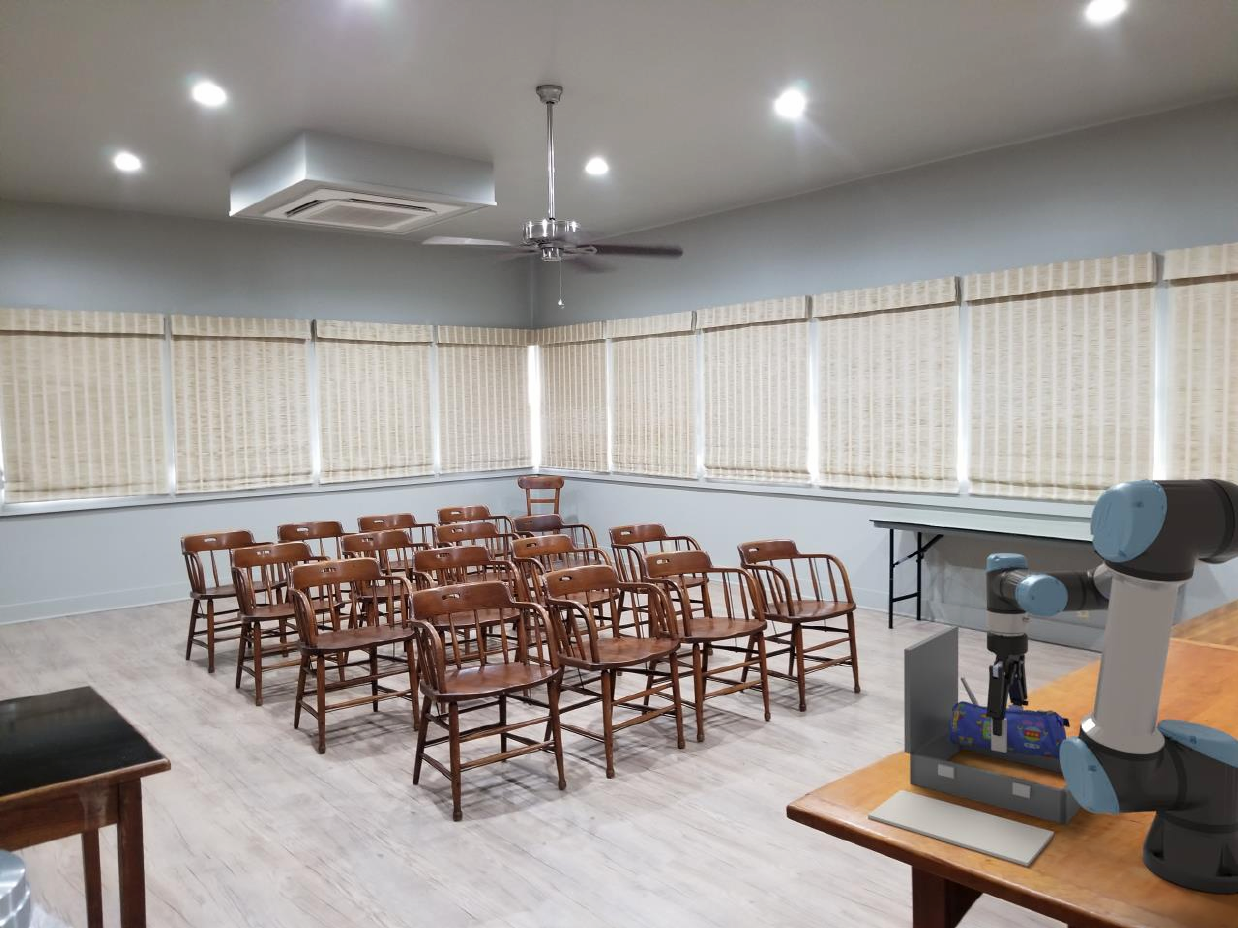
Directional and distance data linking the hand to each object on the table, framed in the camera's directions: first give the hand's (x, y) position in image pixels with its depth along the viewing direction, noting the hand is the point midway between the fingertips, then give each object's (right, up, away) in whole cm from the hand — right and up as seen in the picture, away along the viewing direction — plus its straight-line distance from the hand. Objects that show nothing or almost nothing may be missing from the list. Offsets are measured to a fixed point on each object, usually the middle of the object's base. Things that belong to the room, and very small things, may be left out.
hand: (1007, 743), depth 179 cm
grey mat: (-16, -9, -18) cm, 26 cm away
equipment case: (0, -8, +1) cm, 8 cm away
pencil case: (0, -2, 0) cm, 2 cm away
